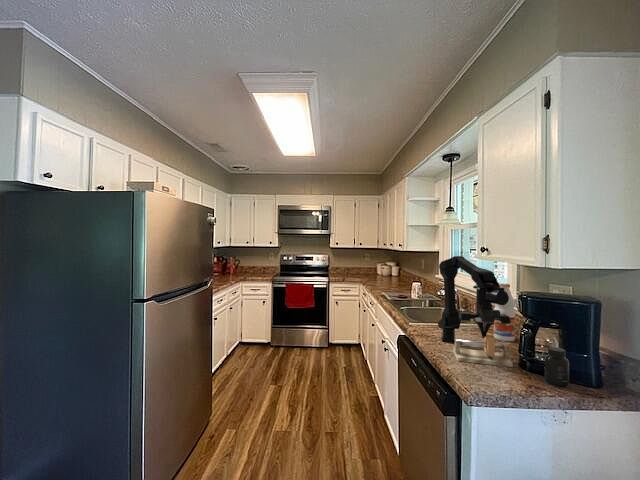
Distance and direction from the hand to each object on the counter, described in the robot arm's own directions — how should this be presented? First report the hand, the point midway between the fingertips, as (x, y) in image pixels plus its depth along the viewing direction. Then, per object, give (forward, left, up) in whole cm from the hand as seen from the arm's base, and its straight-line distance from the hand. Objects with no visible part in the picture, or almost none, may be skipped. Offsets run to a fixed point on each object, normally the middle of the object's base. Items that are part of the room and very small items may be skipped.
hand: (483, 337), depth 130 cm
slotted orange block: (0, +2, -6) cm, 7 cm away
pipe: (0, -1, -4) cm, 4 cm away
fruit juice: (-34, +17, -9) cm, 39 cm away
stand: (0, -1, -9) cm, 9 cm away
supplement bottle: (+18, +19, -9) cm, 28 cm away
